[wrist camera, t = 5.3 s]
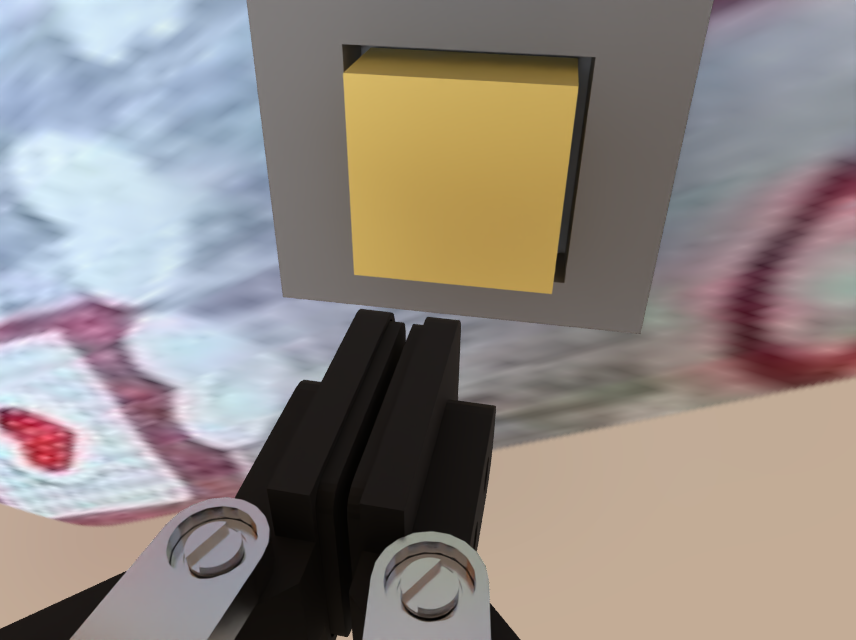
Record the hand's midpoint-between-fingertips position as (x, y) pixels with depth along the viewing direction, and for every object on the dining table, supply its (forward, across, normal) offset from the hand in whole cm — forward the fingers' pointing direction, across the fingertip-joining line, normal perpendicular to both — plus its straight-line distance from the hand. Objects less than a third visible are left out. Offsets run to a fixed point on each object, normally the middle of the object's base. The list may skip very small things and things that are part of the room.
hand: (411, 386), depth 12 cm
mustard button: (+12, +1, 0) cm, 12 cm away
